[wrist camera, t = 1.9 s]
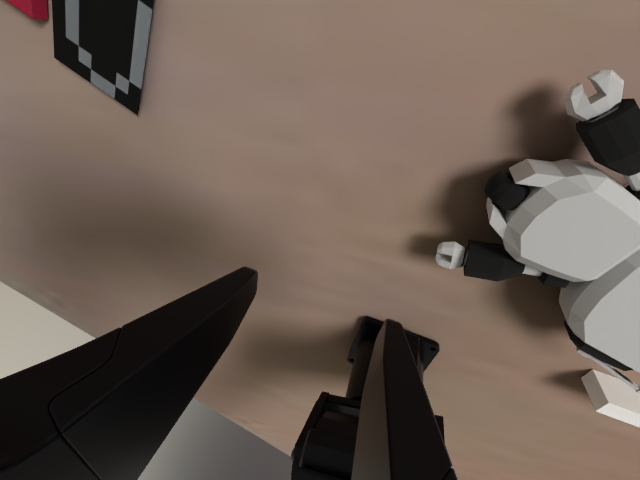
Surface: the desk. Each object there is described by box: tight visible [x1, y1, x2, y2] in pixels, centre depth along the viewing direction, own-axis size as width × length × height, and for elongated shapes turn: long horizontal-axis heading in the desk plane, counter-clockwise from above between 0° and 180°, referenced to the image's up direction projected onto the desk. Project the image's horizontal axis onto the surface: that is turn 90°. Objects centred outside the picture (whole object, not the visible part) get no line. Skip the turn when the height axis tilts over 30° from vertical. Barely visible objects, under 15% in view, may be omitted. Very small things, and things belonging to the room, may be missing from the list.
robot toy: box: [436, 70, 640, 395], centre depth 15 cm, size 12×4×15 cm
